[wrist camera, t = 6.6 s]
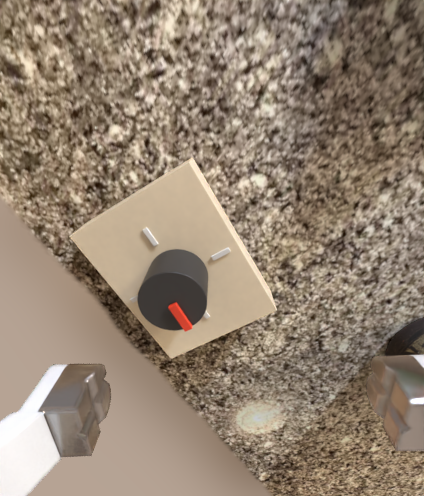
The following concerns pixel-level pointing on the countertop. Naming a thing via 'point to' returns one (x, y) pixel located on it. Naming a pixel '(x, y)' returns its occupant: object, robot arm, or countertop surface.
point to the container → (408, 340)
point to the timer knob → (174, 290)
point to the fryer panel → (177, 237)
